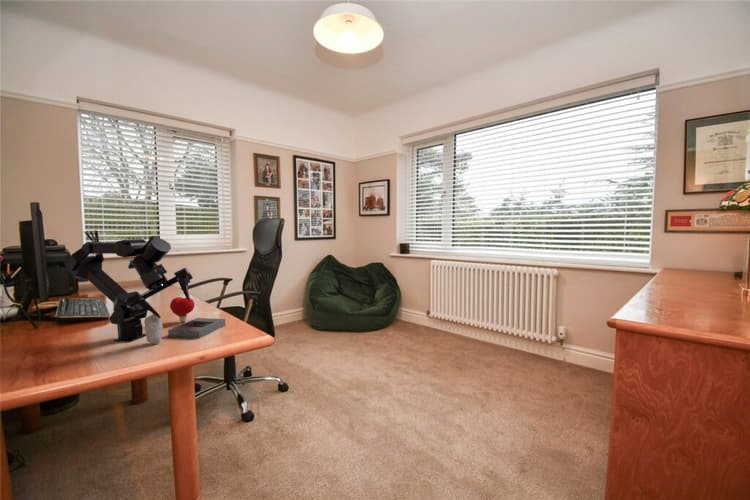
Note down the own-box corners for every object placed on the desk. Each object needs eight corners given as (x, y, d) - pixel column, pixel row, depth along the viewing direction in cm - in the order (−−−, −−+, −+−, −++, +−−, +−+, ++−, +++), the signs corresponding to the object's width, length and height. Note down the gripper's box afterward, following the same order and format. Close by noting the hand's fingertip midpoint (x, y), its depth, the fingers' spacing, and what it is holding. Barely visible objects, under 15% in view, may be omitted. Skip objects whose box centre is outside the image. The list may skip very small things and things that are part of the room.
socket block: (168, 336, 108) (168, 329, 108) (197, 324, 122) (197, 318, 122) (199, 338, 106) (199, 331, 106) (225, 325, 120) (225, 319, 120)
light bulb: (166, 324, 122) (164, 299, 121) (180, 319, 129) (178, 295, 128) (187, 325, 120) (185, 299, 120) (200, 320, 127) (198, 295, 127)
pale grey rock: (158, 340, 105) (156, 310, 104) (168, 340, 105) (166, 310, 104) (143, 346, 99) (141, 315, 99) (153, 347, 99) (151, 315, 98)
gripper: (106, 279, 91) (134, 322, 89) (172, 247, 100) (199, 285, 98) (121, 289, 100) (146, 328, 99) (180, 259, 109) (205, 295, 107)
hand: (174, 309), depth 100 cm, fingers open, 9 cm apart
